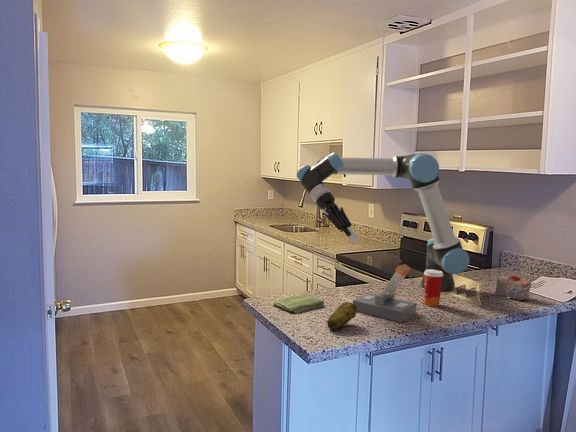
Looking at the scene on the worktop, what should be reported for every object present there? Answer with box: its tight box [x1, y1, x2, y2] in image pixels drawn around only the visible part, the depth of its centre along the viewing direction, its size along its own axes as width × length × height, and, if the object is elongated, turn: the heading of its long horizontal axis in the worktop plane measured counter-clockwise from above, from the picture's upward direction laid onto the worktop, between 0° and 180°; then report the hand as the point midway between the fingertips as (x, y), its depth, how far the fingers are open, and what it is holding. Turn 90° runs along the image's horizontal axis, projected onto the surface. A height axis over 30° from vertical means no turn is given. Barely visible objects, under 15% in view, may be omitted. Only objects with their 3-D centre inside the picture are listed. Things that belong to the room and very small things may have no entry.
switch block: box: [352, 292, 418, 323], centre depth 177 cm, size 20×14×7 cm
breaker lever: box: [380, 263, 412, 302], centre depth 174 cm, size 3×6×16 cm, turn 143°
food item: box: [495, 275, 532, 301], centre depth 201 cm, size 14×8×10 cm, turn 39°
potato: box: [326, 301, 357, 330], centre depth 160 cm, size 8×13×8 cm, turn 118°
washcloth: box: [272, 292, 325, 314], centre depth 181 cm, size 13×18×3 cm
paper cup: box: [423, 269, 444, 308], centre depth 187 cm, size 8×8×14 cm
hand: (356, 241), depth 183 cm, fingers closed
